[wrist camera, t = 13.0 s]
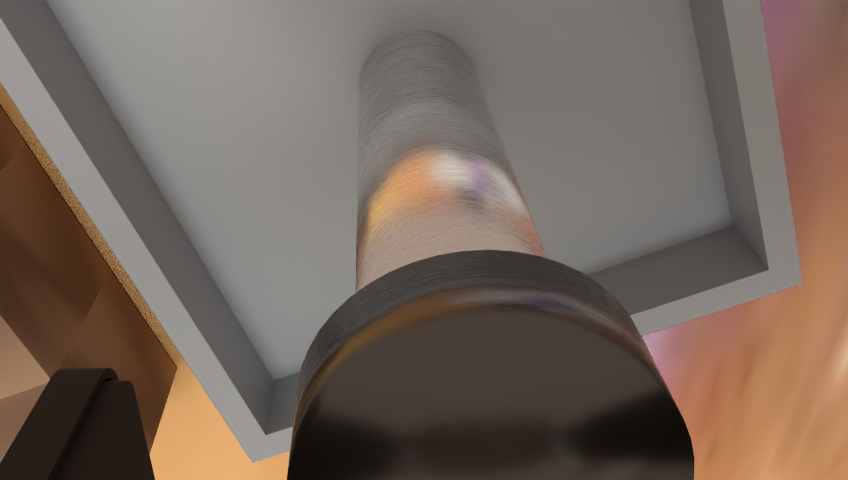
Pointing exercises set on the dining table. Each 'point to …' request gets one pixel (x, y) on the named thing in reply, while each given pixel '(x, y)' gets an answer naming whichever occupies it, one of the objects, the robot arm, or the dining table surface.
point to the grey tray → (338, 157)
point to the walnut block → (62, 301)
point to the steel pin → (468, 314)
